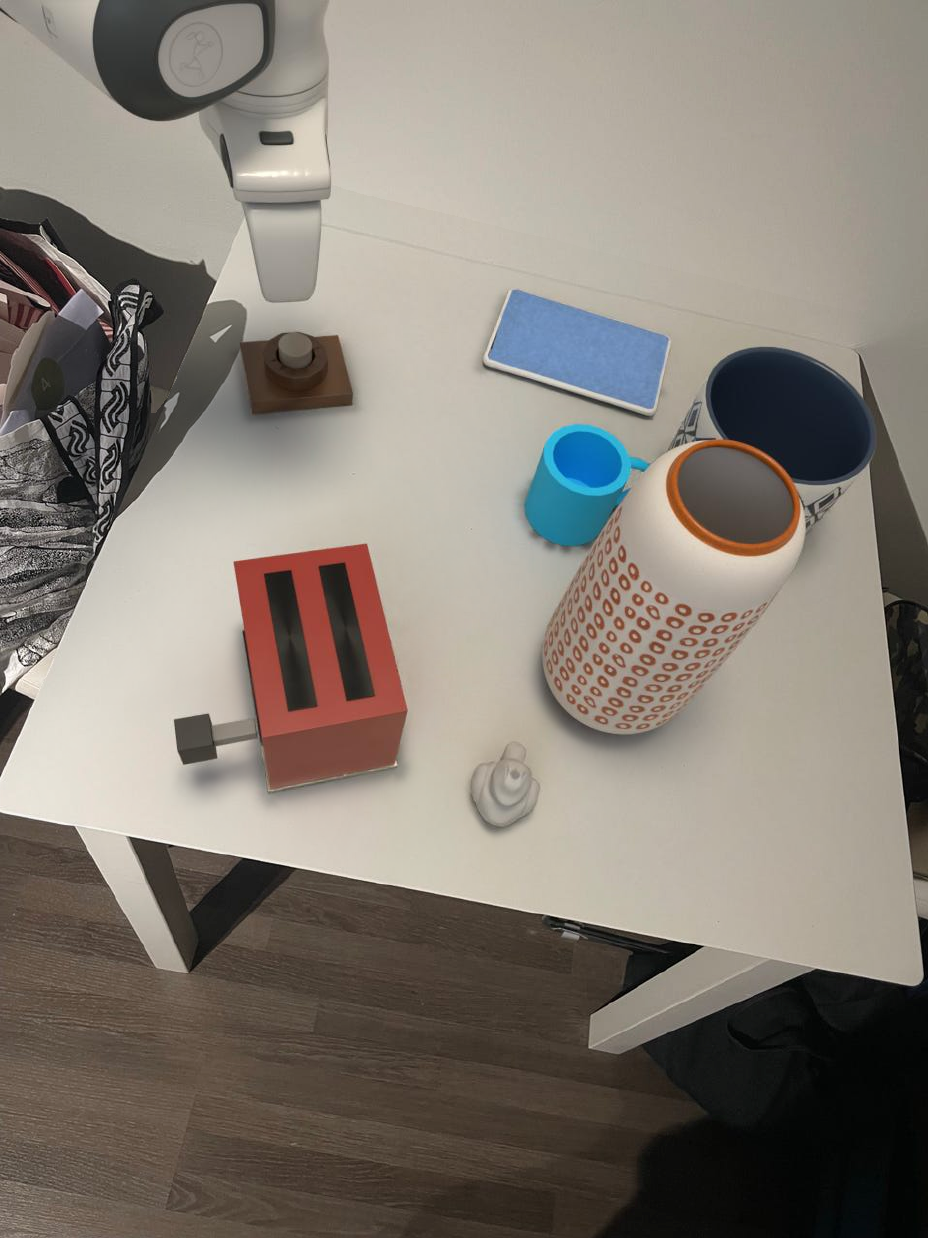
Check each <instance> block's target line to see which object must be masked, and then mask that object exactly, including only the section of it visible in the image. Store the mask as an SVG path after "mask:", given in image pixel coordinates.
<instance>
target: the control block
mask: <svg viewBox="0 0 928 1238" xmlns="http://www.w3.org/2000/svg"><path fill="white" fill-rule="evenodd" d="M288 333H301V334H303V335H305V336H307V337H308V338H309V339H310V341H311V343H312V361H311V363H310V364H309V365H308V366H307V367H305V368H303V369H291V368H288V367H286V366H284V365H283V364H282V363H281V361H280V359H279V345H278V344H279V340H280V339H281V337H282V336H284V335H286V334H288ZM239 350H240V357H241V363H242V367H243V368H242V369H243V373H244V378H245V385H246V389H247V390H246V391H247V394H248V400H249V405H250V410H251V414H252V415H259V414H260V415H261V414H271V413H280V412H283V413H284V412H292V411H302V410H303V411H304V410H312V409H313V410H314V409H323V408H334V407H345V406H353V404H354V403H353V402H354V401H353V399H354V392H353V387H352V384H351V381H350V376H349V372H348V369H347V365H346V361H345V357H344V353H343V349H342V345H341V341H340V338H339V335H338V334H333V335H318V336H314V335H311V334H307V333H305V332H302V331H288V332H281V333H279V334H277V335H276V336H273V337H272V338H270V339H267V340H254V341H253V340H252V341H241V342H239Z"/></svg>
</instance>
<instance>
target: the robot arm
mask: <svg viewBox="0 0 928 1238" xmlns="http://www.w3.org/2000/svg"><path fill="white" fill-rule="evenodd" d="M329 3H330V0H0V13H2V14H3V15H5V16H6V17H8V18H9V19H10V20H11V21H14V22H15V23H17V24H19V25H20V26H21V27H22V28H24V29H25V30H26V31H28V32H29V33H30V34H31V35H33V36H34V37H35V38H36V39H37V40H38V41H40V42H41V43H42V44H43V45H45V46H46V47H47V48H48V49H49V50H51V51H52V52H53V53H54V54H55V55H57V56H58V57H59V58H61V59H62V60H63V62H65V63H66V64H67V65H69V66H70V67H71V68H72V69H73V70H74V71H76V72H77V73H78V74H79V75H80V76H82V77H83V78H84V79H85V80H86V81H88V83H90V84H91V85H93V86H94V87H95V88H97V90H99V91H100V92H102V93H103V94H104V95H105V96H106V97H108V98H109V99H110V100H112V101H113V102H114V103H116V105H118V106H120V107H121V108H123V109H124V110H125V111H127V112H128V113H130V114H132V115H133V116H136V117H138V118H141V119H143V120H147V121H152V122H171V121H172V122H173V121H175V120H180V119H184V118H186V117H189V116H191V115H194V114H197V113H198V119H199V121H198V122H199V124H200V125H199V126H200V128H201V130H202V131H203V133H204V135H205V136H206V137H207V138H208V140H209V141H210V143H211V144H212V147H213V148H214V151H215V152H216V154H217V156H218V157H219V159H220V161H221V163H222V165H223V168H224V171H225V174H226V177H227V179H228V183H229V186H230V189H232V194H233V197H234V199H235V200H236V201H237V202H239V203H240V204H241V208H242V210H243V211H242V212H243V215H244V218H245V222H246V226H247V230H248V234H249V239H250V244H251V250H252V255H253V259H254V265H255V269H256V274H257V278H258V283H259V287H260V292H261V295H262V297H263V299H264V300H265V301H266V302H268V303H273V304H278V303H296V302H298V303H299V302H305V301H308V300H310V299H311V298H312V297H313V295H314V293H315V291H316V286H317V281H318V280H317V279H318V272H319V271H318V269H319V261H320V251H321V250H320V249H321V238H322V201H323V200H325V201H326V200H329V199H330V197H331V194H332V172H331V161H330V155H329V154H330V153H329V147H328V146H329V145H328V133H329V132H328V131H329V75H330V74H329V73H330V56H329V50H328V45H327V42H326V38H325V29H324V27H325V25H324V24H325V16H326V14H327V10H328V7H329Z"/></svg>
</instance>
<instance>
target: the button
mask: <svg viewBox="0 0 928 1238" xmlns="http://www.w3.org/2000/svg"><path fill="white" fill-rule="evenodd" d="M278 345H279V359H280V361H281V363H282V364H283V365H284V366H286V367H288V368H291V369H303V368H305V367H307V366H308V365H309V364H310V363H311V361H312V343H311V341H310V339H309V338H308V337H307V336H305V335H303V334H301V333H288V334H286V335H284V336H282V337H281V339H280V340H279V344H278Z"/></svg>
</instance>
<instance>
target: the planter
mask: <svg viewBox="0 0 928 1238" xmlns="http://www.w3.org/2000/svg"><path fill="white" fill-rule="evenodd" d="M874 420H875V419H874V417H873V415H872V412H871V410H870V408H869V406H868V405H867V402H866V401H865V399H864V398H863V396H862V395H861V394H860V393H859V392H858V390H857V389H856V387H855V386H853V384H851V383H850V381H848V380H847V379H846V378H845V376H842V374H840V373H839V372H838V371H836V370H835V369H833V368H832V367H831V366H829V365H828V364H826V363H824V362H822V361H820V360H819V359H816V358H814V357H813V356H810V355H807V354H804V353H802V352H800V351H797V350H796V351H795V350H792V349H789V348H783V347H776V346H754V347H747V348H743V349H739V350H737V351H734V352H732V353H730V354H727V355H726V356H725V357H723V358H722V359H721V360H719V361H718V362H717V363H716V365H715V366H714V367H712V369H711V371H710V373H709V374H708V376H707V378H706V380H705V381H704V383H703V385H702V386H701V388H700V390H699V392H698V394H697V395H696V397H695V399H694V401H693V402H692V404H691V406H690V408H689V410H688V412H687V413H686V415H685V417H684V419H683V421H682V422H681V424H680V426H679V428H678V429H677V432H676V433H675V435H674V437H673V439H672V441H671V442H670V444H669V446H668V447H667V449H666V451H665V453H666V452H668V451H670V450H672V449H674V448H676V447H678V446H681V445H684V444H687V443H690V442H695V441H705V440H732V441H737V442H741V443H744V444H747V445H750V446H752V447H755V448H757V449H759V450H760V451H762V452H764V453H766V454H767V455H768V456H770V457H771V458H773V459H774V460H775V461H776V462H777V463H778V464H779V465H780V466H781V467H782V468H783V469H784V470H785V471H786V472H787V474H788V475H789V476H790V478H791V479H792V481H793V483H794V485H795V487H796V489H797V492H798V495H799V498H800V500H801V503H802V506H803V509H804V514H805V524H806V531H805V537H806V536H807V535H808V534H809V533H810V532H811V531H812V529H813V528H814V527H815V526H816V525H817V524H818V523H819V522H820V521H821V519H822V518H823V517H824V516H825V515H826V514H827V513H828V512H829V510H830V509H831V508H832V507H833V506H834V505H835V504H836V502H837V501H838V500H840V498H841V497H842V496H843V495H844V494H845V493H846V491H847V490H848V489H849V488H850V487H851V485H853V484H854V482H855V481H856V480H857V479H858V478H859V476H860V475H861V474H862V473H863V472H864V471H865V469H867V467H868V465H869V464H870V462H871V461H872V459H873V457H874V454H875V452H876V447H877V429H876V428H877V427H876V424H875V421H874Z"/></svg>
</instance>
